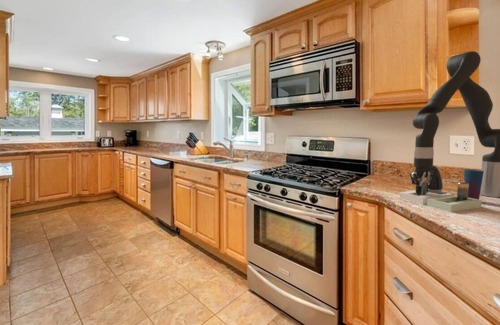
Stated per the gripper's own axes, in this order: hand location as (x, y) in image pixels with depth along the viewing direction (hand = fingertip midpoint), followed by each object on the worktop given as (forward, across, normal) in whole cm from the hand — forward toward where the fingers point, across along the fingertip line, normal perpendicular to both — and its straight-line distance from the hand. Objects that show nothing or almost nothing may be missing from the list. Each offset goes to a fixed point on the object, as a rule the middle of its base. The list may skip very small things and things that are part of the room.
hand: (421, 192), depth 124 cm
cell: (+2, 0, 0) cm, 2 cm away
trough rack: (+4, -2, +13) cm, 14 cm away
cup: (+4, -18, +10) cm, 21 cm away
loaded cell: (+3, -7, +13) cm, 15 cm away
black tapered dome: (+4, -16, -8) cm, 19 cm away
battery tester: (+4, -2, 0) cm, 5 cm away
